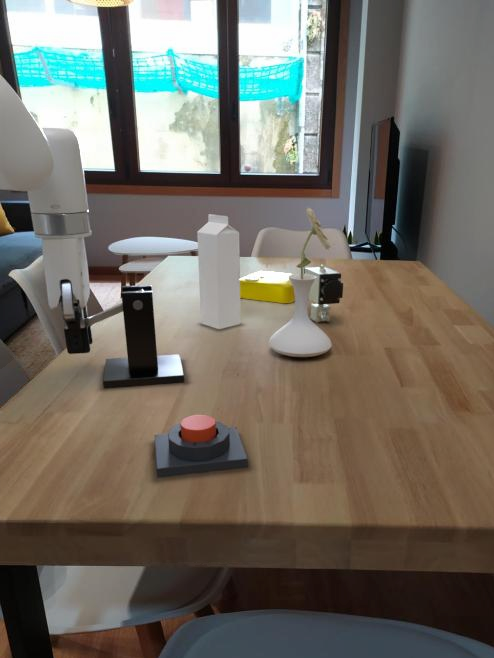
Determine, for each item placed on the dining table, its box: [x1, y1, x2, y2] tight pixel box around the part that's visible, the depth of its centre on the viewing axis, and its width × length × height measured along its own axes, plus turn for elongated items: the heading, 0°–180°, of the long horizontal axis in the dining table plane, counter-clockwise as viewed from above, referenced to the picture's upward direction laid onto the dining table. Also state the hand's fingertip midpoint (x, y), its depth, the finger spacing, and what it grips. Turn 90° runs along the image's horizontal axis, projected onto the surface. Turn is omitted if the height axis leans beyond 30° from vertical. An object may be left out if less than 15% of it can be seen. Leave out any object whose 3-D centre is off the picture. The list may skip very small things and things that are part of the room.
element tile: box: [240, 270, 295, 304], centre depth 139 cm, size 15×15×5 cm
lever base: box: [102, 284, 185, 389], centre depth 85 cm, size 12×10×14 cm
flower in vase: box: [268, 206, 333, 358], centre depth 95 cm, size 13×11×25 cm
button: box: [180, 414, 217, 443], centre depth 63 cm, size 4×4×2 cm
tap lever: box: [84, 289, 144, 329], centre depth 82 cm, size 13×3×3 cm, turn 105°
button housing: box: [154, 420, 249, 479], centre depth 63 cm, size 10×8×3 cm
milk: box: [196, 213, 241, 330], centre depth 110 cm, size 6×6×22 cm
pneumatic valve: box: [303, 264, 344, 324], centre depth 116 cm, size 6×12×12 cm, turn 21°
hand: (80, 347), depth 83 cm, fingers closed on tap lever, 3 cm apart
